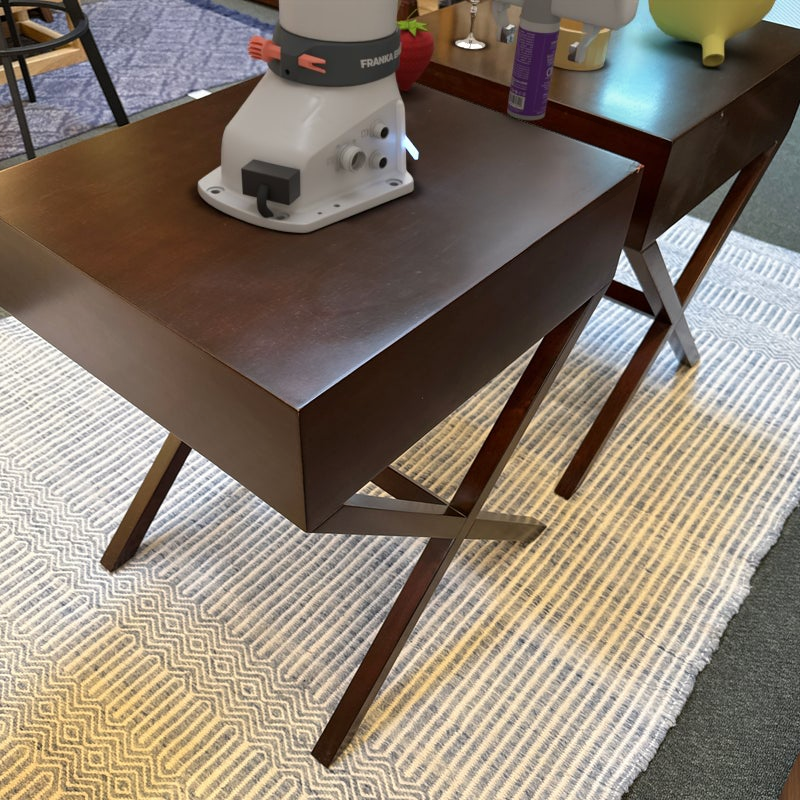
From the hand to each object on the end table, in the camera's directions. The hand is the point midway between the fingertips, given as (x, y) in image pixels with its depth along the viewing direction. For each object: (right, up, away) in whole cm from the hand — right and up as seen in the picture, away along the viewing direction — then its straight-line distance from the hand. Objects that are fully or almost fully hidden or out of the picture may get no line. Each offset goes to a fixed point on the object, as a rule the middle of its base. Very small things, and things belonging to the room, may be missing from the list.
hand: (539, 51), depth 99 cm
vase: (+30, +27, +26) cm, 48 cm away
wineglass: (-6, +11, +25) cm, 28 cm away
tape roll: (+8, +8, +22) cm, 25 cm away
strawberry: (-16, -2, +8) cm, 18 cm away
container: (-1, -6, +5) cm, 8 cm away
